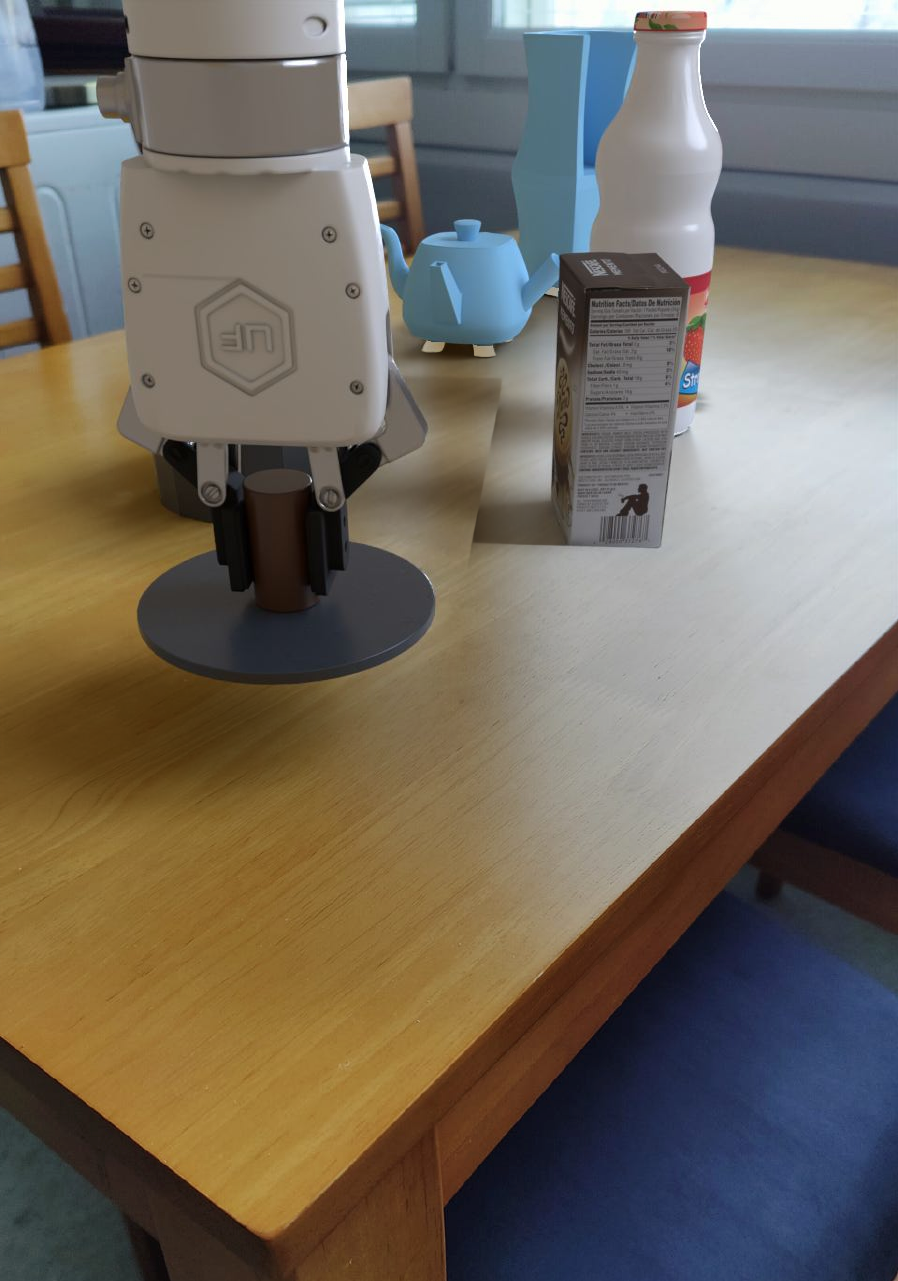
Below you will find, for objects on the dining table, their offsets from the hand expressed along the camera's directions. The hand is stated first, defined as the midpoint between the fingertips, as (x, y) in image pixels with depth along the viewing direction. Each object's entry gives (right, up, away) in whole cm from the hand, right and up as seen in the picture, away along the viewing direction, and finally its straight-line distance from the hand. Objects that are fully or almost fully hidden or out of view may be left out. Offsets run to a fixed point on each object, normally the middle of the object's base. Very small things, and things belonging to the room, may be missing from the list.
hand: (286, 577), depth 52 cm
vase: (+22, +50, +82) cm, 99 cm away
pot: (-6, +10, +27) cm, 29 cm away
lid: (0, -1, +1) cm, 2 cm away
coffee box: (+18, +8, +25) cm, 32 cm away
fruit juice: (+23, +21, +42) cm, 52 cm away
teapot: (+9, +35, +62) cm, 71 cm away
